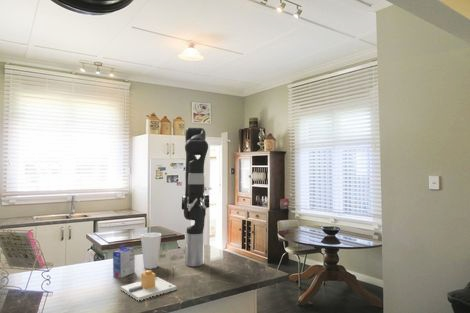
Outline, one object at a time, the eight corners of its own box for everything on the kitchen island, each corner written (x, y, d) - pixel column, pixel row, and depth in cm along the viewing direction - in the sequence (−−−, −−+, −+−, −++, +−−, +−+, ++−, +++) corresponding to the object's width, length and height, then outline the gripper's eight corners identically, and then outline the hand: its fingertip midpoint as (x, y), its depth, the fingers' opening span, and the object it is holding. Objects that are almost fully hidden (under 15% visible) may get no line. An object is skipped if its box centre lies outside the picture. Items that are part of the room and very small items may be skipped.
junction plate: (120, 290, 142) (120, 277, 142) (157, 280, 154) (157, 268, 154) (138, 301, 130) (138, 287, 130) (176, 289, 143) (176, 277, 143)
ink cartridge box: (126, 270, 167) (127, 242, 167) (135, 272, 165) (135, 243, 165) (112, 276, 158) (112, 246, 158) (120, 278, 156) (121, 248, 156)
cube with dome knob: (146, 288, 139) (146, 273, 139) (141, 286, 142) (141, 271, 143) (155, 286, 142) (155, 271, 142) (150, 283, 145) (150, 268, 146)
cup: (136, 268, 171) (136, 235, 172) (148, 262, 181) (148, 231, 181) (153, 271, 167) (154, 237, 168) (165, 265, 177) (165, 233, 177)
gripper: (188, 184, 143) (187, 221, 143) (213, 183, 153) (212, 217, 153) (178, 183, 148) (178, 218, 148) (203, 182, 158) (202, 215, 158)
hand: (195, 218), depth 150 cm, fingers open, 8 cm apart
